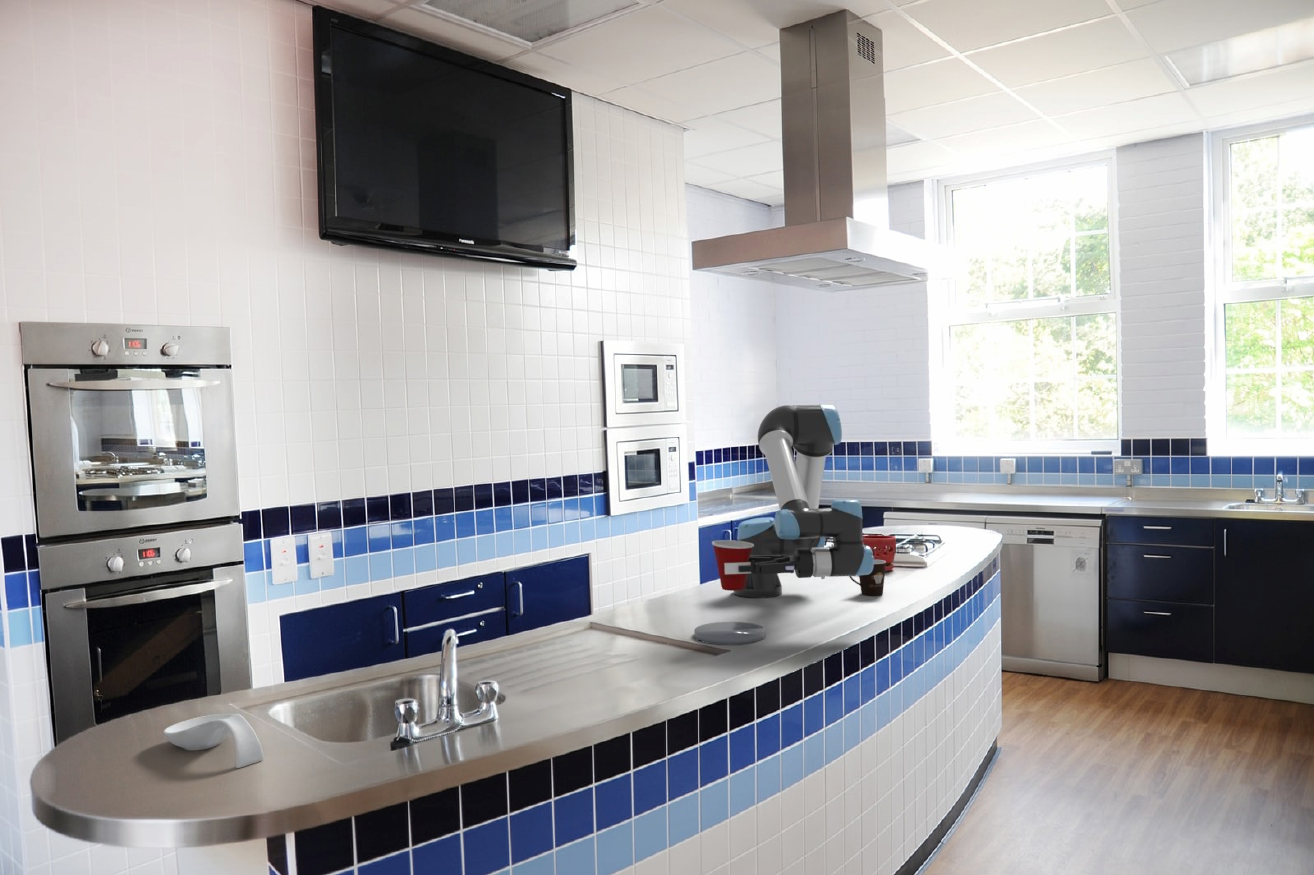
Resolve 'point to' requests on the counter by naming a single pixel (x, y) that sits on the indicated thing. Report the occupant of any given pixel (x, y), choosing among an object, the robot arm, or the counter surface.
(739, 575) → the plastic cup
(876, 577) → the coffee mug
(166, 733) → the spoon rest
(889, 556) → the plant pot
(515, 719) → the counter surface
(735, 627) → the gray round coaster
